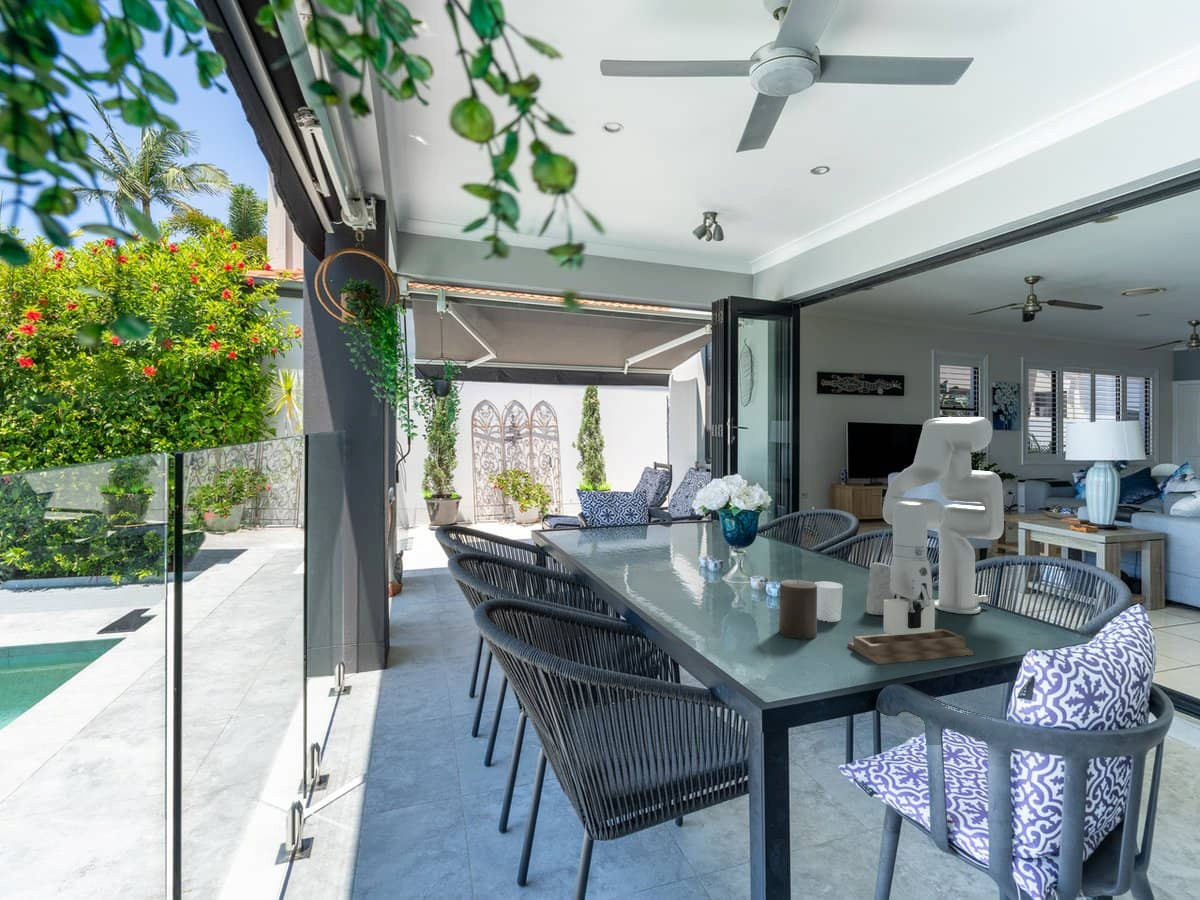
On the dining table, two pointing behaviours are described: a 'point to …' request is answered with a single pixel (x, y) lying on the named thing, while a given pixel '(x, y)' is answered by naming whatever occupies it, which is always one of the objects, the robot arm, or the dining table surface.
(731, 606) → the dining table surface
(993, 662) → the dining table surface
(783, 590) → the pillar candle
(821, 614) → the white cup
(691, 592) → the dining table surface
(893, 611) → the white rectangular block
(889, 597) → the decorative stone
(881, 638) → the track frame
